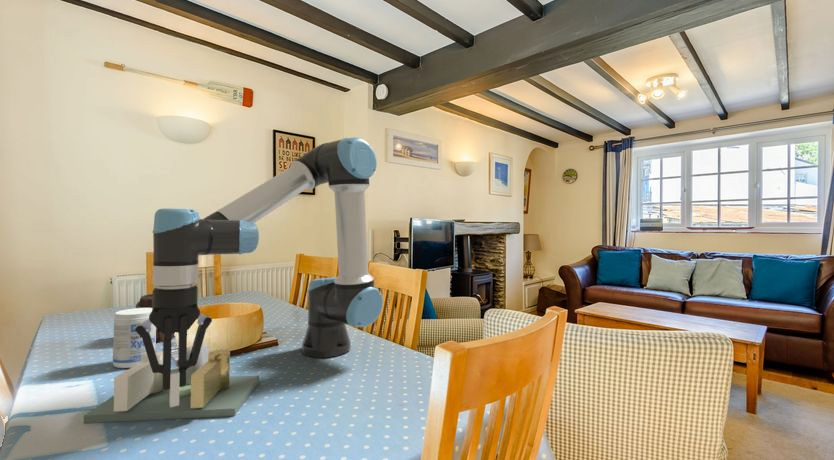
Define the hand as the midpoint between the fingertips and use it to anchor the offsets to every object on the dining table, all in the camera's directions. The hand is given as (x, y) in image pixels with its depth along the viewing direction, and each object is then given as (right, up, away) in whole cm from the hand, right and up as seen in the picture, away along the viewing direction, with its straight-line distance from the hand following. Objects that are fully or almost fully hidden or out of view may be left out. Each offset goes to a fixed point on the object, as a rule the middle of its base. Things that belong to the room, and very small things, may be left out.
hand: (174, 403), depth 73 cm
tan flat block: (+3, -2, +7) cm, 8 cm away
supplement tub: (-31, -3, +30) cm, 43 cm away
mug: (-43, -3, +52) cm, 68 cm away
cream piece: (-10, -1, +5) cm, 12 cm away
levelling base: (-4, -3, +9) cm, 10 cm away
